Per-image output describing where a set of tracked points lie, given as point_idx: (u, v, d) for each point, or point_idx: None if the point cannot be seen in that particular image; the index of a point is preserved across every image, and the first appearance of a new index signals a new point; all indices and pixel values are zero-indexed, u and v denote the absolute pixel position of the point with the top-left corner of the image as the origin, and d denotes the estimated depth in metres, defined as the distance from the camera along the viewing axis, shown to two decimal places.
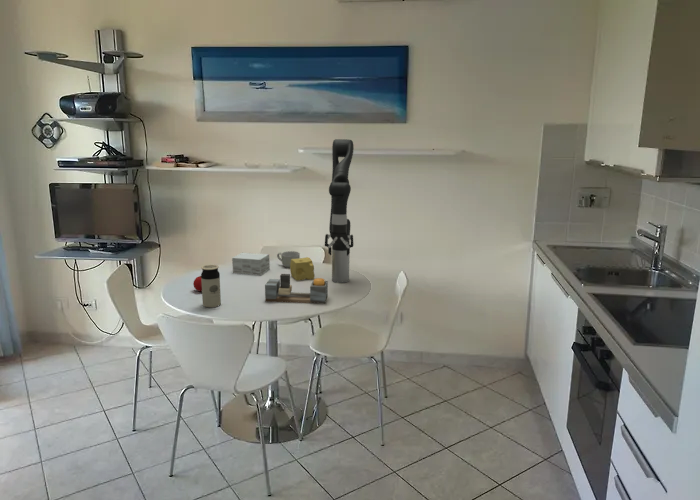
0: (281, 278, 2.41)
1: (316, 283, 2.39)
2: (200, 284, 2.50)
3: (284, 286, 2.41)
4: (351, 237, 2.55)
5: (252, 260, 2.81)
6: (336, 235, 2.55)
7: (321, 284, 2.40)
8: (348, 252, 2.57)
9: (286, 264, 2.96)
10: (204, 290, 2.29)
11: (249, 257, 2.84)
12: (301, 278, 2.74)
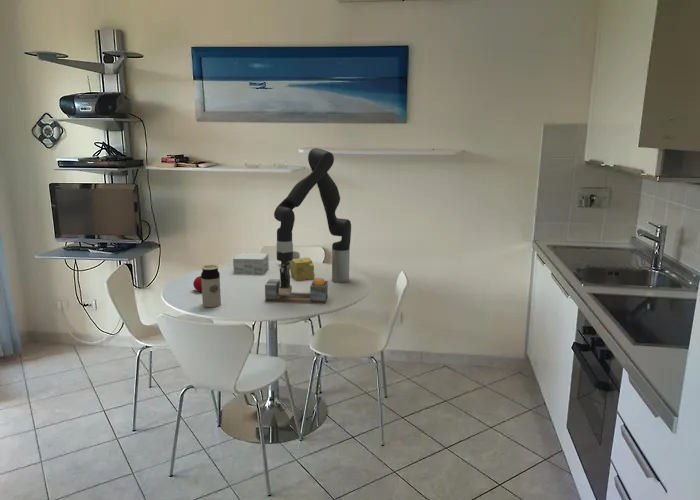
0: None
1: (316, 283, 2.39)
2: (200, 283, 2.50)
3: None
4: None
5: (255, 260, 2.81)
6: (286, 263, 2.39)
7: (321, 284, 2.40)
8: None
9: None
10: (204, 290, 2.29)
11: (250, 257, 2.84)
12: (301, 278, 2.74)
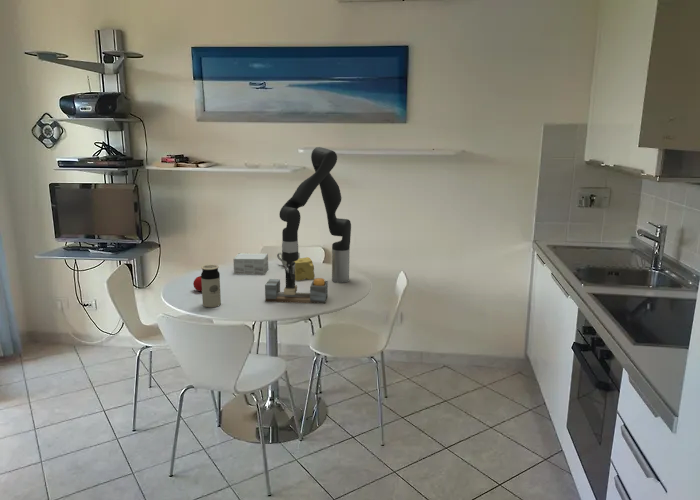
0: None
1: (316, 283, 2.39)
2: (200, 284, 2.50)
3: None
4: None
5: (255, 260, 2.81)
6: (292, 263, 2.39)
7: (321, 284, 2.40)
8: None
9: None
10: (204, 290, 2.29)
11: (251, 257, 2.84)
12: (301, 278, 2.74)
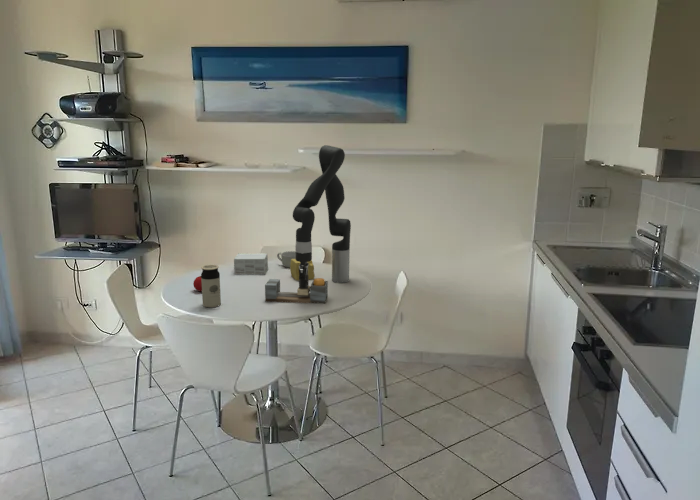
0: None
1: (316, 283, 2.39)
2: (200, 284, 2.50)
3: None
4: None
5: (256, 259, 2.82)
6: (305, 263, 2.39)
7: (321, 284, 2.40)
8: None
9: (286, 264, 2.96)
10: (204, 290, 2.29)
11: (251, 257, 2.84)
12: None
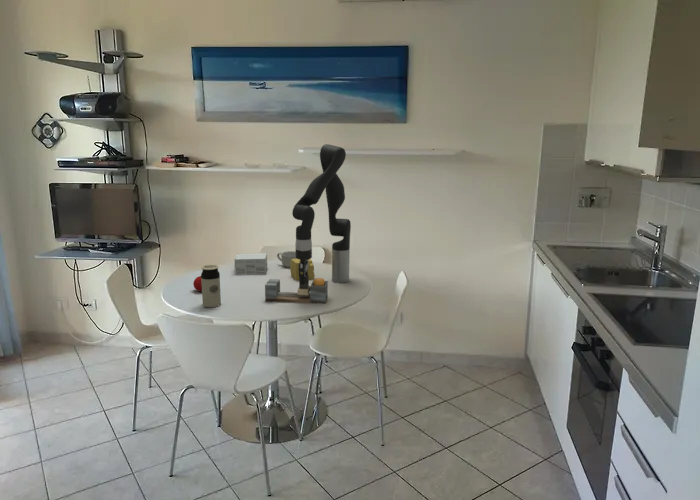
0: None
1: (316, 283, 2.39)
2: (200, 284, 2.50)
3: (303, 287, 2.41)
4: (308, 259, 2.46)
5: (257, 259, 2.82)
6: (305, 261, 2.38)
7: (321, 284, 2.40)
8: None
9: (286, 264, 2.96)
10: (204, 290, 2.29)
11: (251, 257, 2.84)
12: None
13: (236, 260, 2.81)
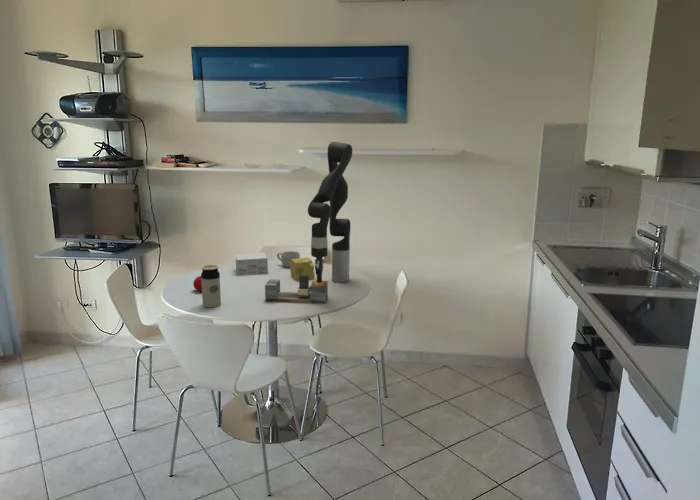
0: (300, 279, 2.40)
1: (316, 285, 2.40)
2: (200, 284, 2.50)
3: (303, 287, 2.41)
4: None
5: (259, 259, 2.82)
6: (321, 259, 2.38)
7: None
8: None
9: (286, 264, 2.96)
10: (204, 290, 2.29)
11: (253, 257, 2.84)
12: None
13: (238, 261, 2.80)
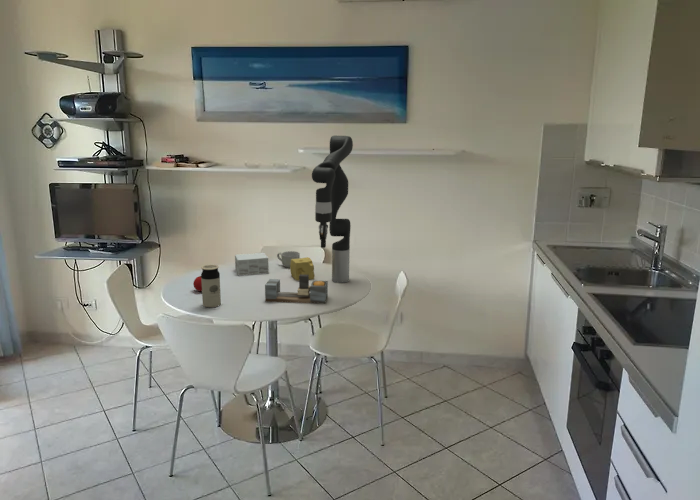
0: (300, 279, 2.40)
1: None
2: (200, 284, 2.50)
3: (303, 287, 2.41)
4: None
5: (260, 259, 2.83)
6: (325, 224, 2.39)
7: None
8: None
9: (286, 264, 2.96)
10: (204, 290, 2.29)
11: (253, 257, 2.84)
12: None
13: (239, 261, 2.79)
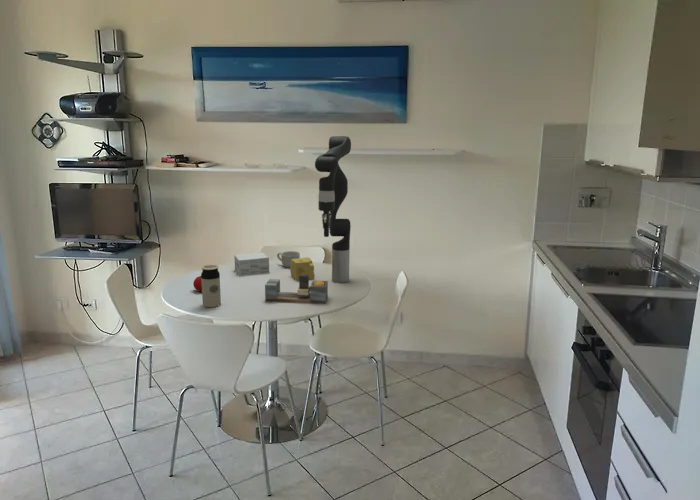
0: (300, 279, 2.40)
1: None
2: (200, 284, 2.50)
3: (303, 287, 2.41)
4: None
5: (260, 259, 2.83)
6: (328, 213, 2.41)
7: None
8: None
9: (286, 264, 2.96)
10: (204, 290, 2.29)
11: (254, 257, 2.84)
12: None
13: (240, 261, 2.79)
